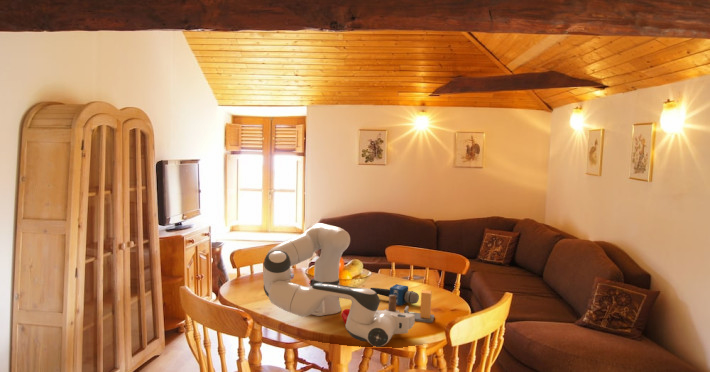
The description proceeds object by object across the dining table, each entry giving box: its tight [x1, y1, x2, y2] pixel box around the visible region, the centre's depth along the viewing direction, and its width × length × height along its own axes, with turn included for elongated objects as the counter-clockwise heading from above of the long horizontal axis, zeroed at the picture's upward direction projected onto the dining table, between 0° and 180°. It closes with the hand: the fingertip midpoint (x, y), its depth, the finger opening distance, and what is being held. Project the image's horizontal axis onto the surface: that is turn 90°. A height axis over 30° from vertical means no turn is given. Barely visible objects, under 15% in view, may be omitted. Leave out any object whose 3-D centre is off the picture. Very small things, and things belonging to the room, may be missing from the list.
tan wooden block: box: [420, 289, 433, 319], centre depth 220 cm, size 4×4×11 cm
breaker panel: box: [403, 305, 435, 324], centre depth 221 cm, size 13×8×4 cm, turn 76°
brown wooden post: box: [387, 295, 397, 312], centre depth 206 cm, size 3×3×14 cm
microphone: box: [369, 284, 420, 307], centre depth 244 cm, size 8×8×25 cm
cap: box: [340, 308, 350, 326], centre depth 212 cm, size 8×6×6 cm
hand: (392, 311), depth 207 cm, fingers closed on brown wooden post, 3 cm apart
